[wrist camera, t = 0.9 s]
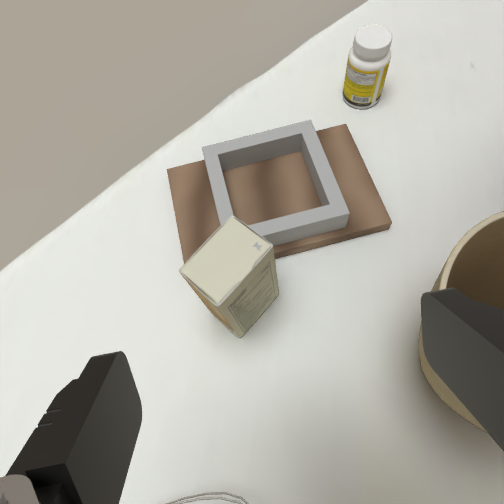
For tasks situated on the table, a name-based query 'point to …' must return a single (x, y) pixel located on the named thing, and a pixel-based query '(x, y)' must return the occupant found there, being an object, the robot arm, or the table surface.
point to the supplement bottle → (367, 66)
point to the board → (278, 195)
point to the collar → (272, 146)
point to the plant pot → (471, 288)
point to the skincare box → (234, 275)
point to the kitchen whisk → (207, 498)
